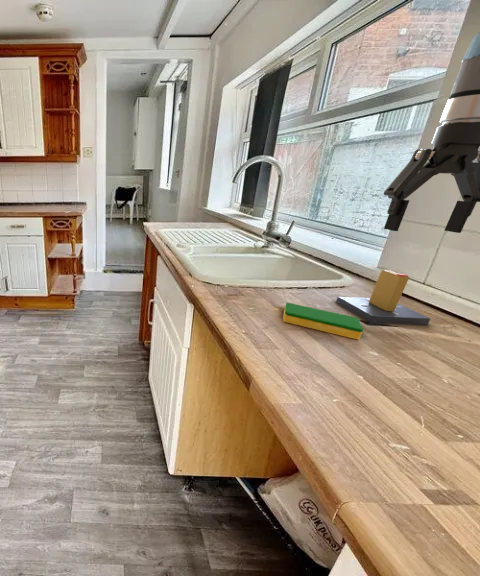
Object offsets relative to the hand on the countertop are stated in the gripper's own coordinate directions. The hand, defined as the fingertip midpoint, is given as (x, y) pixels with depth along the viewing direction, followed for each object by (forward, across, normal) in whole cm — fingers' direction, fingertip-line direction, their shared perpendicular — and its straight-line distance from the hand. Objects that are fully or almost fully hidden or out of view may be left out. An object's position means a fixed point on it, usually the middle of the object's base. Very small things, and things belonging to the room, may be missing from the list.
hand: (421, 231), depth 68 cm
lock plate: (+21, -3, -1) cm, 21 cm away
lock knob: (+18, -3, -1) cm, 18 cm away
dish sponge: (+21, -22, -7) cm, 31 cm away
